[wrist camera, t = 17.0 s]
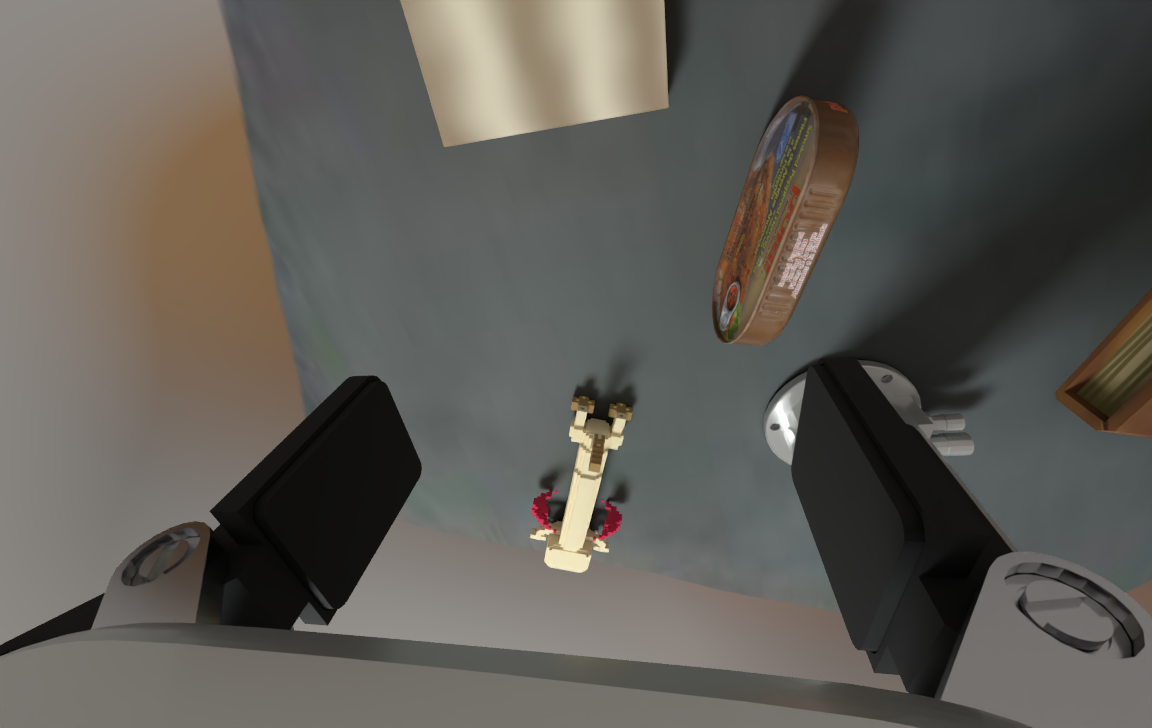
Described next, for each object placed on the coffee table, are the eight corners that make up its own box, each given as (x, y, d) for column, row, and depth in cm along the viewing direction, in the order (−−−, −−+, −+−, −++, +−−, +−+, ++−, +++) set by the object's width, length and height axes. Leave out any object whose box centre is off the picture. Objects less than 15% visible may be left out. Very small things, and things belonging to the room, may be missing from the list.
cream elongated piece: (554, 382, 43) (527, 544, 56) (539, 439, 35) (512, 612, 48) (652, 400, 43) (604, 558, 56) (659, 461, 35) (601, 628, 48)
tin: (775, 90, 27) (825, 99, 20) (826, 98, 27) (894, 110, 20) (703, 307, 35) (720, 366, 28) (741, 313, 35) (768, 374, 28)
